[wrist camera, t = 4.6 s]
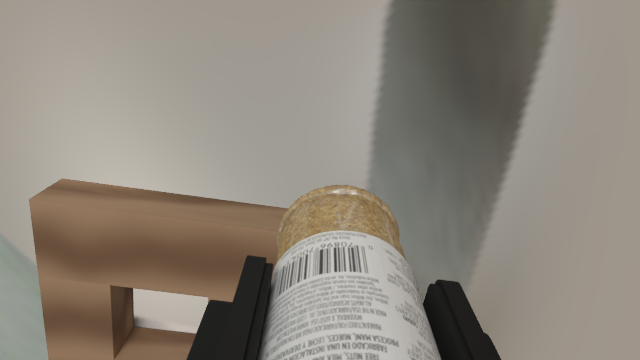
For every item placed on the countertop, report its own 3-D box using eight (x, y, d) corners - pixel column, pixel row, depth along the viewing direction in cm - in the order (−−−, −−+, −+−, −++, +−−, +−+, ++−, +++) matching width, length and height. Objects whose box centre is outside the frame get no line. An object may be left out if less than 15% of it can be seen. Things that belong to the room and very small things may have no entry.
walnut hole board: (61, 178, 29) (28, 199, 26) (290, 209, 30) (286, 232, 26) (79, 373, 35) (54, 409, 32) (266, 393, 36) (260, 430, 33)
